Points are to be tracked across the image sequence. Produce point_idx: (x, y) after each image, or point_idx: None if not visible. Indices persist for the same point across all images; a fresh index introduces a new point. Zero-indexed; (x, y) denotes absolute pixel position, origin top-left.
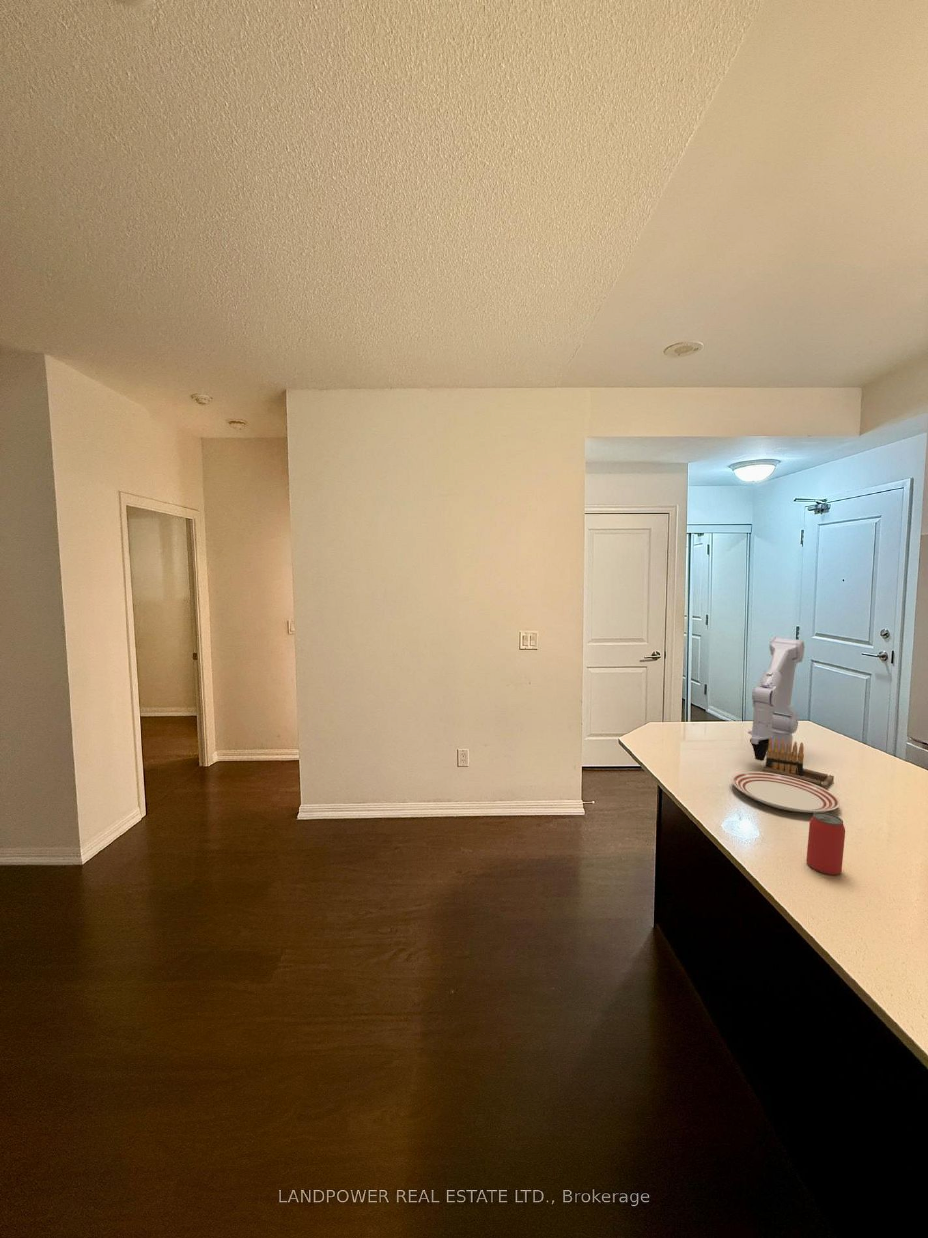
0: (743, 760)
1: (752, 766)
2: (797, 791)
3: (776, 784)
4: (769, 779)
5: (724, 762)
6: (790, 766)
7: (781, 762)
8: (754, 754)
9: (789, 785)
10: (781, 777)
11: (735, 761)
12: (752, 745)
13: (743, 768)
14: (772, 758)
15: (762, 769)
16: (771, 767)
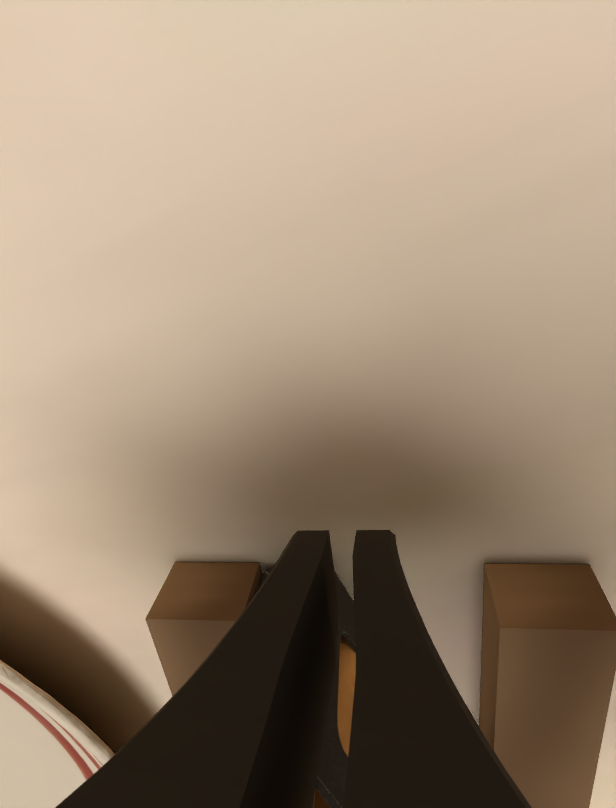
0: (515, 207)
1: (337, 413)
2: (48, 803)
3: (7, 712)
4: (3, 682)
5: (88, 31)
6: (530, 785)
7: None
8: (263, 582)
9: (80, 773)
10: (97, 761)
11: (329, 138)
12: (81, 793)
13: (143, 367)
14: (336, 785)
15: (151, 608)
16: (484, 584)
